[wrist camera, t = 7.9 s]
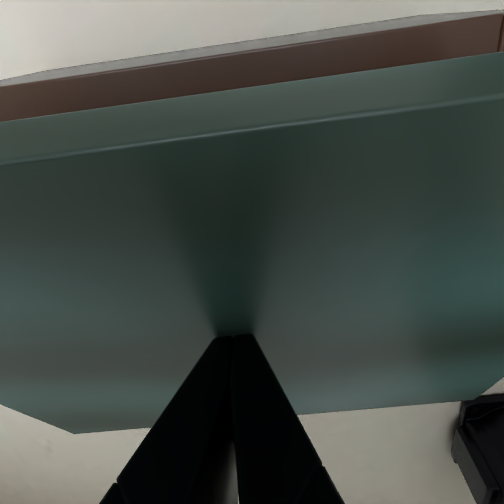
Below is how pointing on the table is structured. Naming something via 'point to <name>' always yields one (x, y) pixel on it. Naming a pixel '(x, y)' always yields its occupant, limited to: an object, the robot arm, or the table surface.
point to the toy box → (253, 63)
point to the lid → (258, 244)
